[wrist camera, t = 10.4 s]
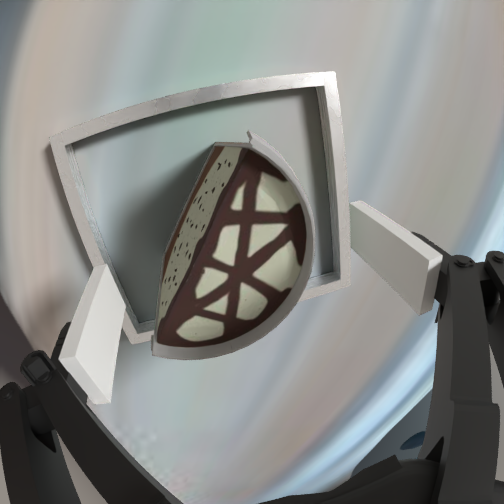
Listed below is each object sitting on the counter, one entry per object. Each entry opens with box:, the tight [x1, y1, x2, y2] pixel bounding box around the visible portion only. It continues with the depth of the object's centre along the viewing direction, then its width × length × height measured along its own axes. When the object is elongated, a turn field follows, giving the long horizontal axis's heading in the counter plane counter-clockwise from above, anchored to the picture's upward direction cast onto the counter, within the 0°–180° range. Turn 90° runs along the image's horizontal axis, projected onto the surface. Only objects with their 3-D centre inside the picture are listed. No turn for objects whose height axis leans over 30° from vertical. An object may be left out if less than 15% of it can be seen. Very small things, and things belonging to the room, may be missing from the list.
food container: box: [151, 130, 315, 360], centre depth 19 cm, size 12×6×10 cm, turn 152°
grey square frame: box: [49, 72, 351, 344], centre depth 22 cm, size 18×20×2 cm
